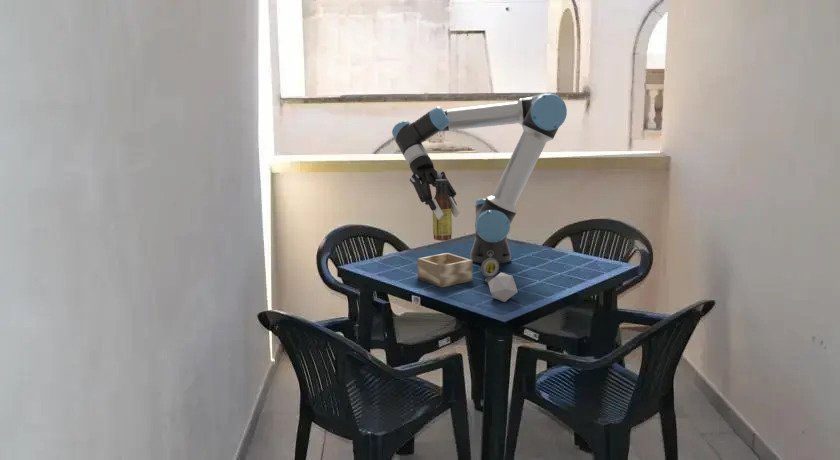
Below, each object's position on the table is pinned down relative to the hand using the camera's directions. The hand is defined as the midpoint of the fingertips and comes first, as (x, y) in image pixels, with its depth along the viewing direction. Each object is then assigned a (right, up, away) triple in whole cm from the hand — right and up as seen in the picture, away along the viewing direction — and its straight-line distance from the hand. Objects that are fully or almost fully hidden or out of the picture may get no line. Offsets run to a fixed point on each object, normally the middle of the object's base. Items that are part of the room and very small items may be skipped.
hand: (449, 216), depth 219 cm
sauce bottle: (-2, -8, +5) cm, 9 cm away
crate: (-1, -21, +7) cm, 22 cm away
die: (+16, -26, -14) cm, 33 cm away
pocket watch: (+15, -22, +5) cm, 27 cm away
